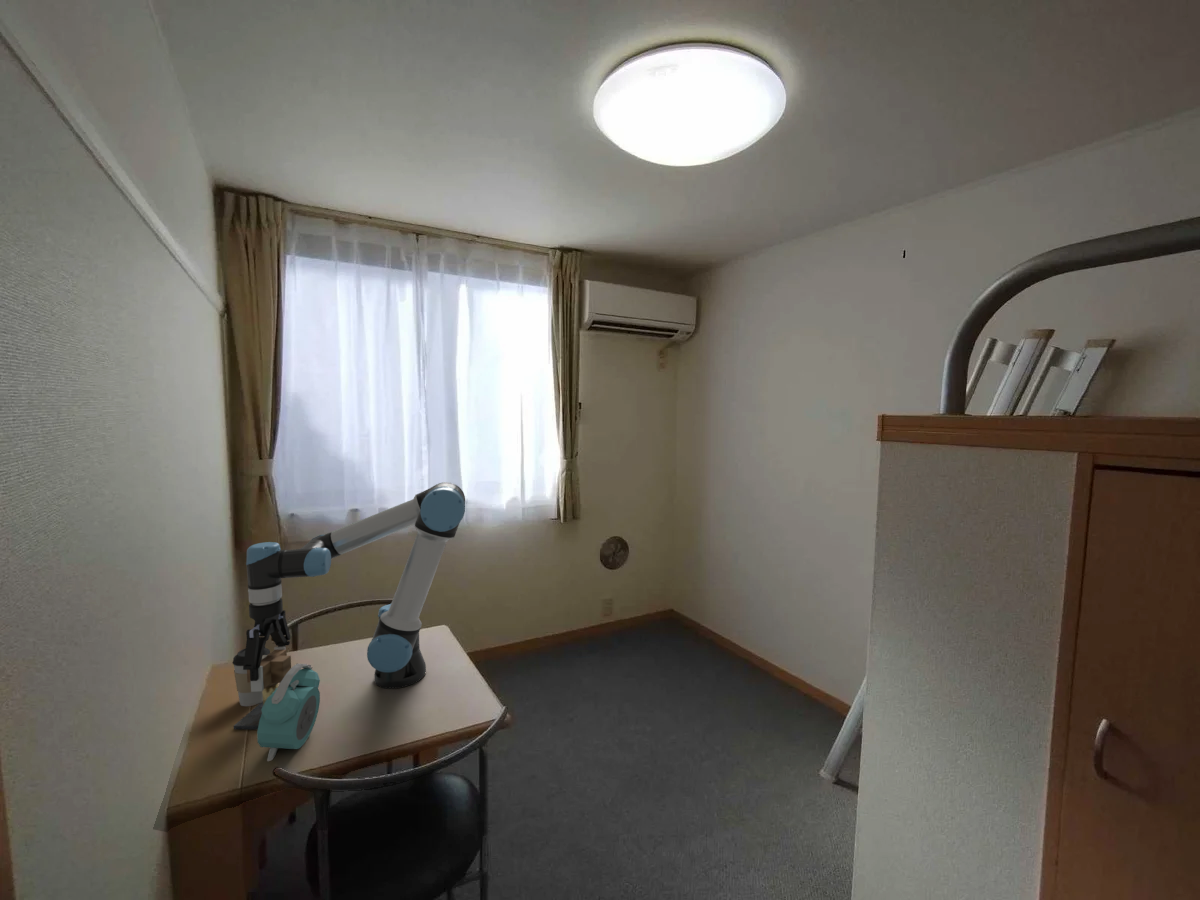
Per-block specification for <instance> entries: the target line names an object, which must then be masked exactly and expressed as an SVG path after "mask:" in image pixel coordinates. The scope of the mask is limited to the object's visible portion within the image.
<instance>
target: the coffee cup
mask: <svg viewBox="0 0 1200 900" xmlns="http://www.w3.org/2000/svg"><path fill="white" fill-rule="evenodd" d="M245 649H246V647H245V648H243V649H241V650H239V651H238V652H237V654H236V655H234V657H233V660H232V665H233V668H234V670H233V674H234V680H235V687H236V691H237V694H238V695H237V696H238V700H239V705H240V706H241V707H251V706H257V705H259V704H260V703H261V702H262V701H263V694H262V691H257V692H251V683H247V670H243V665H244V657H245ZM270 653H271V650H270V649H269V648H267V647H265V648H264V652H263V655H268V654H270Z"/></svg>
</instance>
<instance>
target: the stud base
mask: <svg viewBox="0 0 1200 900" xmlns="http://www.w3.org/2000/svg"><path fill="white" fill-rule="evenodd" d="M278 686H279V683H278V684H276V685H274V686H271V687H266V688H265V689H264V690H263V691H262V694H263V701H262V702H261V703H259V704H257V705H255V707H254V708H252V709H251V710H250V711H249V712H248V713H247V714H246V715H244V717H243V716H242V718H241V719H239V721H237V722H236V723H235V724H234V725H233V727H232V728H233V730H255V731H256V730H257V731H258V726H259V721H260V718H261V715H262V711H261V709H262V707H263V705H264V703H265V701H266V699H267V698H268V697H269V696H270V695H272V693H273V692H274V691H275V689H276V688H278Z"/></svg>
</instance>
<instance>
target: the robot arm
mask: <svg viewBox="0 0 1200 900" xmlns="http://www.w3.org/2000/svg"><path fill="white" fill-rule="evenodd" d="M465 512H466V495H465V493H464V491H463V490H462V488H461V487H460V486H459V485H458V484H455V483H452V482H448V481H446V482H444V481H443V482H438V483H437V484H434V485H433V486H431V487H430V488H427V489H426V490H423V491H421V492H419V493H417V494H415V495H414V497H413V499H410V500H408V501H404V502H403V503H400V504H398V505H395V506H393V507H391V508H387V509H385V510H383V511H379V512H378V513H375V514H373V515H370V516H368V517H365V518H363V519H360V520H358V521H355V522H352V523H350V524H348V525H345V526H342V527H340V528H338V529H335V530H333V531H331V532H328V533H325V534H320V535H316V536H315V537H312V539H310V540H309V542H307V543H306V544H305V545H303V546H302V547H301V548H297V549H281V545H280V543H278V542H274V541H273V542H272V541H268V542H267V541H265V542H259V543H254V544H252V545H250V546H249V547H248V548H247V549H246V562H245V565H246V575H247V588H248V589H247V593H248V602H249V604H248V615H249V618H250V619H252V620H253V621H254V625H253V628H252V629H246V632H245V633H246V641H245V642H246V643H245V648H246V649H245V648H244V649H245V657H244V665H243V670H250V680H251V692H257V691H263V690H264V686H263V666H260V664H261V660H262V656H263V652H264V648H266V644H267V641H268V640H269V639H270V637H271V638H272V641H273V642H274V644H275V647H274V648H273V651H274V650H286V651H287V649H286V648H287V647H286V646H290V644H291V641H290V640H291V635H290V630H289V626H288V622H287V618H286V610H284V608H283V598H282V597H283V587H282V579H288V578H289V579H291V578H292V579H293V578H306V577H311V578H313V577H319V576H325V575H326V574H328V573H329V572H330V569H331V566H332V565H331V564H332V560H333V559H335V558H337V557H339V556H341V555H344V554H346V553H348V552H351V551H354V550H356V549H359V548H360V547H363V546H366V545H368V544H370V543H373V542H375V541H378V540H380V539H383V538H385V537H388V536H390V535H393V534H396V533H398V532H400V531H402V530H405V529H407V528H410V527H412V526H413V527H414V529H415V530H416V531H417V533H416V536H415V539H414V542H413V544H412V547H411V549H410V551H409V554H408V558H407V560H406V564H405V566H404V568H403V571H402V573H401V577H400V579H399V582H398V585H397V587H396V590H395V593H394V595H393V598H392V601H391V603H390V604H386V605H383V606H381V607H380V608H379V610H378V614H377V617H378V622H377V625H376V628H375V631H374V633H373V636H372V638H371V641H370V642H369V644H368V646H367V649H366V657H367V662H368V663H369V665H370V666H371V667H372V668H373V669H374V676H373V677H374V684H375V685H376V686H378V687H380V688H383V689H400V688H405V687H408V686H411V685H413V684H416V683H417V682H419V681H420V680H422V679H423V678H424V677H425V675H426V674H425V672H426V673H427V665H426V661H425V659H424V656H423V654H422V651H421V649H420V631H421V628H422V625H423V624H422V621H421V620H420V615H421V612H422V611H423V607H424V604H425V602H426V599H427V596H428V595H429V591H430V589H431V586H432V583H433V580H434V578H435V575H436V572H437V570H438V568H439V567H438V566H439V564H440V561H441V559H442V556H443V553H444V551H445V549H446V548H445V547H446V545H447V543H448V542H449V541H450V540H453V539H454V538H455V536H456V534H457V531H458V528H459V526H460V523H461V521H462V520H463V519H464V516H465ZM424 674H425V675H424ZM423 676H424V677H423ZM422 677H423V678H422ZM421 678H422V679H421ZM419 679H420V680H419ZM418 680H419V681H418ZM416 681H417V682H416ZM415 682H416V683H415Z"/></svg>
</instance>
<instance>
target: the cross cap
mask: <svg viewBox="0 0 1200 900" xmlns="http://www.w3.org/2000/svg"><path fill="white" fill-rule="evenodd" d="M291 657H292V656H291V655H288V654H287V649H286V650H274V649H273V651H270V654H268V655H263V656H262V660H261V664H260V666H263V686H264V689H265V688H266V687H271V686H274V685H276V684H278V685H279V684H280V682H281V681H282V679H283V678H284V676H285V675H286V673H287V672H288V671H289V670H290V669H291V668H292V658H291ZM247 683H251V680H250V670H247Z"/></svg>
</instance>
